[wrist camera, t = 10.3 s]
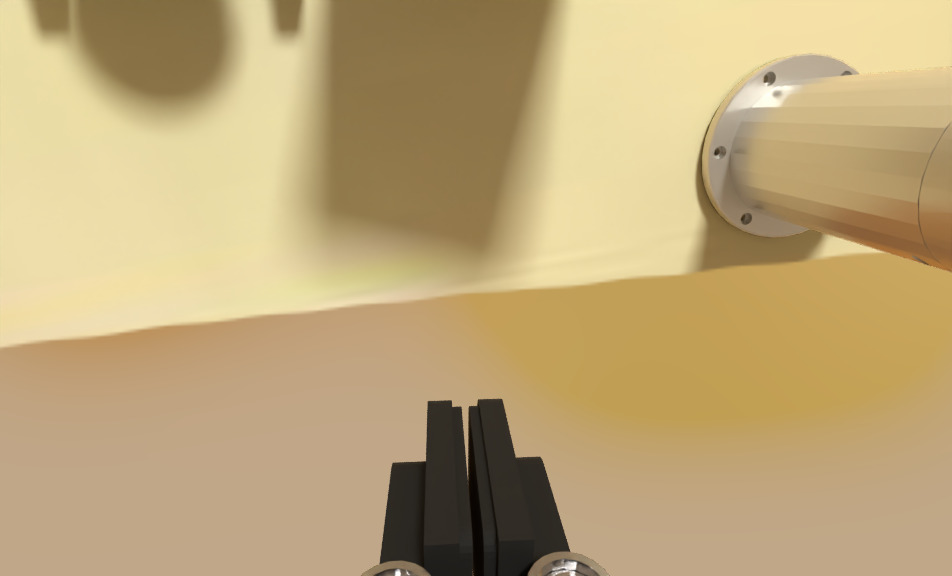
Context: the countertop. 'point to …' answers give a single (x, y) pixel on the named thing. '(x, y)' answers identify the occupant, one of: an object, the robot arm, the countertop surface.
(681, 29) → the countertop surface
